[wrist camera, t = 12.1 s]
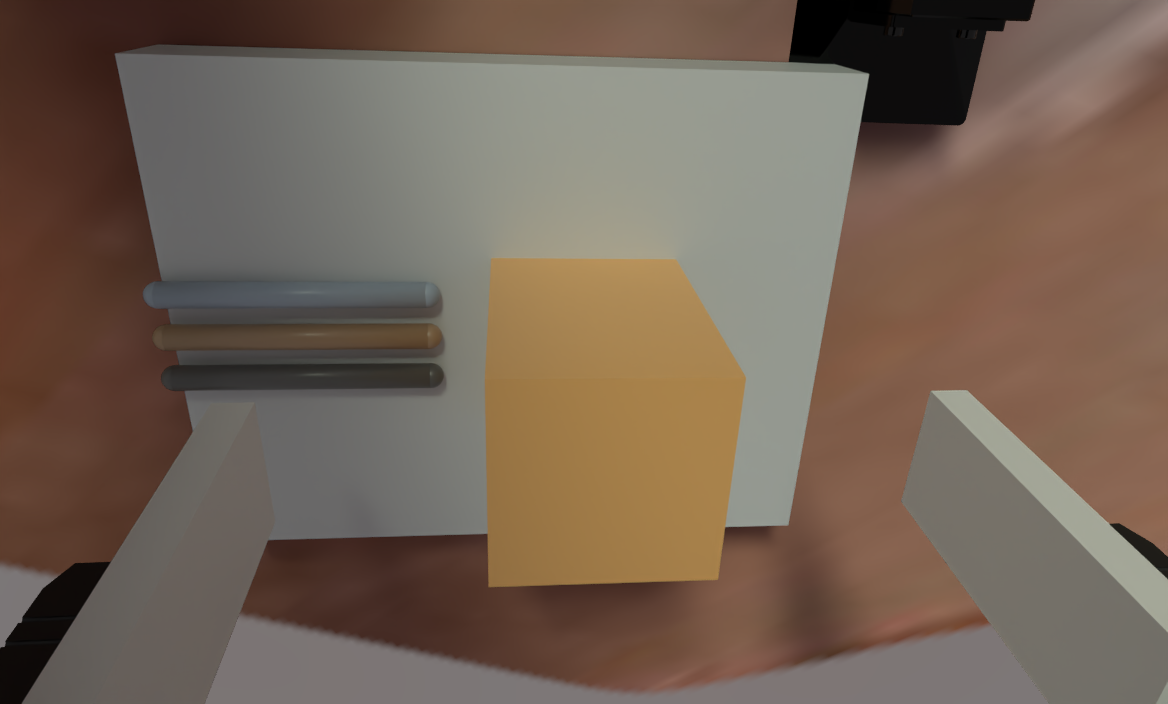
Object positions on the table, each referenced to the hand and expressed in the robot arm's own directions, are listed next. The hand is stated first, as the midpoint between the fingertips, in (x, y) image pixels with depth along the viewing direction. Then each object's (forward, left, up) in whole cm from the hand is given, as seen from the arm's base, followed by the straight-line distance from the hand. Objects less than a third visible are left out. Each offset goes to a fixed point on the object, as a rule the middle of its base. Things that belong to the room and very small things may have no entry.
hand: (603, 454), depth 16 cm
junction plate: (-2, 0, -10) cm, 10 cm away
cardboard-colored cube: (0, -1, -7) cm, 7 cm away
